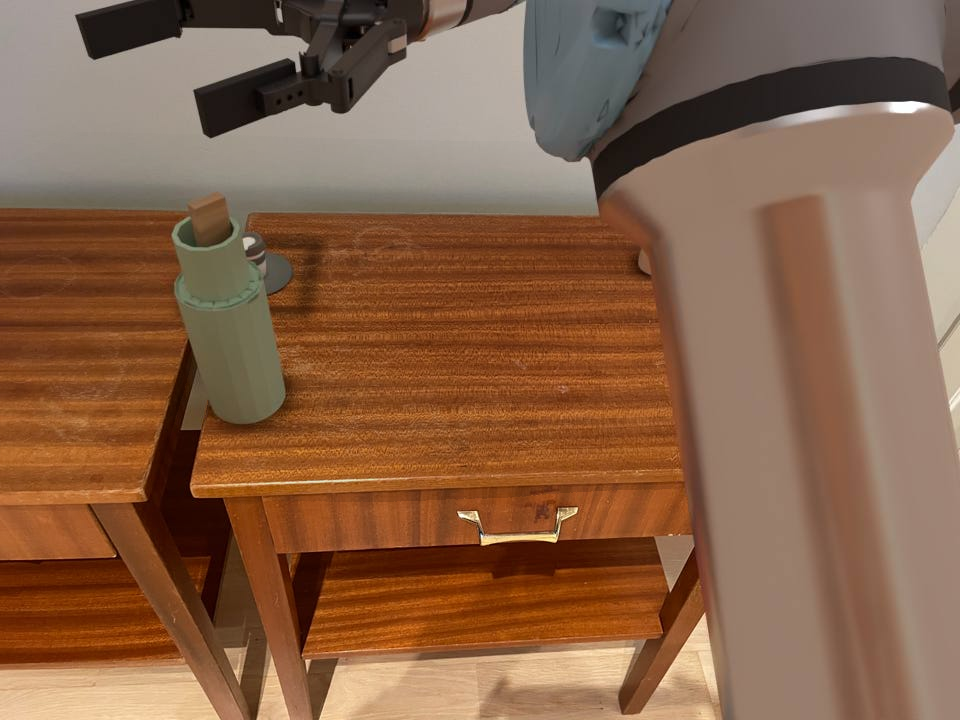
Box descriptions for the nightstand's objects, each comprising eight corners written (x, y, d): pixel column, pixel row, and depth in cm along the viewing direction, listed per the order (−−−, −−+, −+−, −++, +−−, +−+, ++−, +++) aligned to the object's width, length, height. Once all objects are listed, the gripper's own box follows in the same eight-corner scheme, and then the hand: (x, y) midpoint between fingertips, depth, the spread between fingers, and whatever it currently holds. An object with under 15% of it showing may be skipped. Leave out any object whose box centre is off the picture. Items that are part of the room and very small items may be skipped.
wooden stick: (265, 390, 68) (228, 198, 54) (241, 404, 67) (197, 211, 52) (253, 380, 69) (214, 188, 55) (229, 393, 68) (183, 200, 53)
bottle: (253, 435, 65) (209, 270, 52) (194, 405, 67) (137, 239, 54) (300, 387, 70) (271, 222, 56) (244, 360, 72) (202, 195, 58)
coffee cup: (314, 243, 85) (310, 207, 82) (303, 312, 77) (297, 276, 73) (209, 241, 84) (200, 205, 81) (186, 312, 76) (174, 275, 72)
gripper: (511, 98, 53) (271, 211, 42) (299, -4, 64) (62, 64, 53) (521, -10, 48) (249, 86, 37) (288, -101, 59) (22, -49, 48)
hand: (138, 74), depth 45 cm, fingers open, 13 cm apart
